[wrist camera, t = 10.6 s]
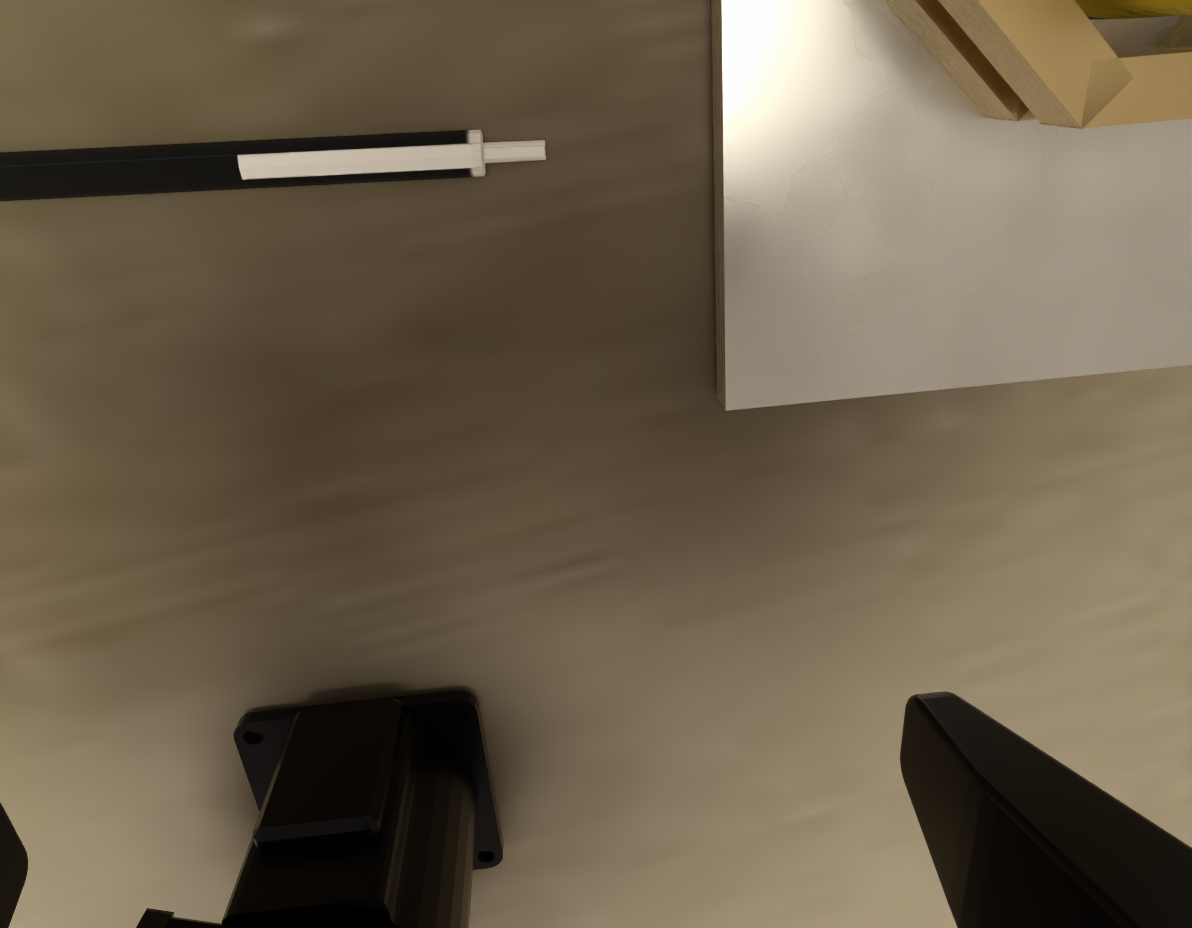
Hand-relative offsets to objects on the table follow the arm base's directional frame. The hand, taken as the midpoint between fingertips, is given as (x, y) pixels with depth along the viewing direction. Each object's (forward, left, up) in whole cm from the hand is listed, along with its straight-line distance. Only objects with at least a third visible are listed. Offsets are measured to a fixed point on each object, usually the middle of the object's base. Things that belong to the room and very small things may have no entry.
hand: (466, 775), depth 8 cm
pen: (+5, +8, -12) cm, 16 cm away
